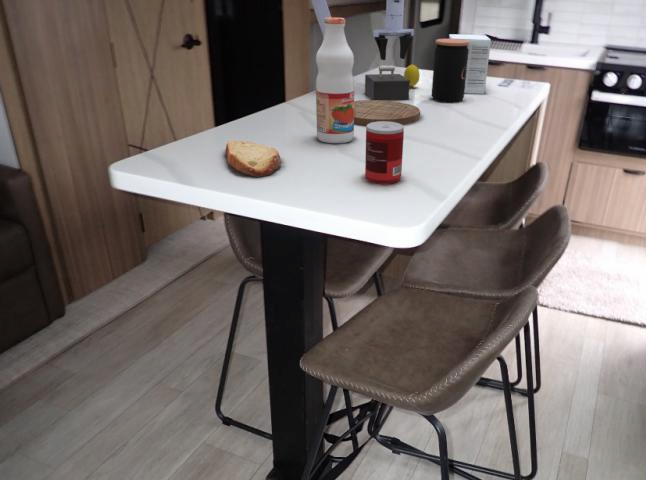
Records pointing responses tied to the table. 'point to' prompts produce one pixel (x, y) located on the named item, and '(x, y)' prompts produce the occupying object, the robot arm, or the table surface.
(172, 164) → the table surface
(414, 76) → the lemon
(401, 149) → the canned food
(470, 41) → the supplement box
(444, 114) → the table surface
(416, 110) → the trivet
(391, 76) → the dark grey box lid
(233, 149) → the bread slice
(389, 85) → the dark grey square box
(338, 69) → the fruit juice
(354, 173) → the table surface
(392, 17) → the robot arm
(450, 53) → the coffee jar
